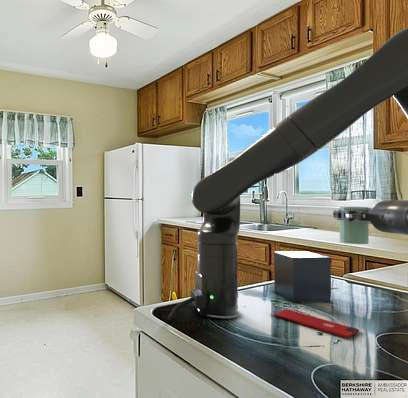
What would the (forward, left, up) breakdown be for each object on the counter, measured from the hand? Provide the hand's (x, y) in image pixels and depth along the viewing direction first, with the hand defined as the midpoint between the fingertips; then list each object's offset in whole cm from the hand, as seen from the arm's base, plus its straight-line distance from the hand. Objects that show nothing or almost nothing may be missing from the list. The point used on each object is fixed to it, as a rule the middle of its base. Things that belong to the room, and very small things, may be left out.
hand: (347, 214), depth 88 cm
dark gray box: (-11, +3, -23) cm, 26 cm away
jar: (0, -2, -7) cm, 8 cm away
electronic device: (-20, -17, -24) cm, 35 cm away
